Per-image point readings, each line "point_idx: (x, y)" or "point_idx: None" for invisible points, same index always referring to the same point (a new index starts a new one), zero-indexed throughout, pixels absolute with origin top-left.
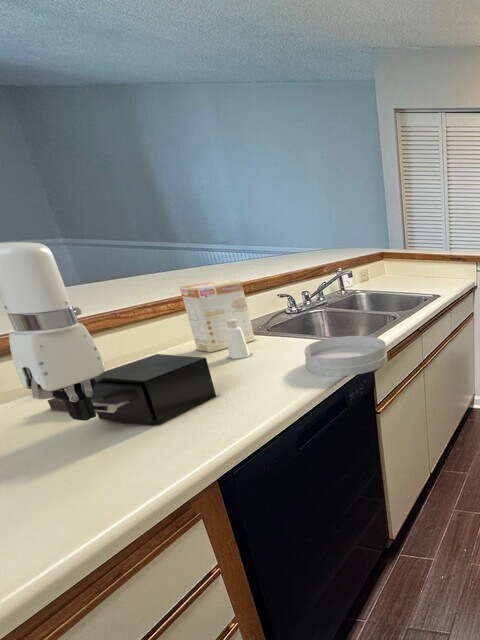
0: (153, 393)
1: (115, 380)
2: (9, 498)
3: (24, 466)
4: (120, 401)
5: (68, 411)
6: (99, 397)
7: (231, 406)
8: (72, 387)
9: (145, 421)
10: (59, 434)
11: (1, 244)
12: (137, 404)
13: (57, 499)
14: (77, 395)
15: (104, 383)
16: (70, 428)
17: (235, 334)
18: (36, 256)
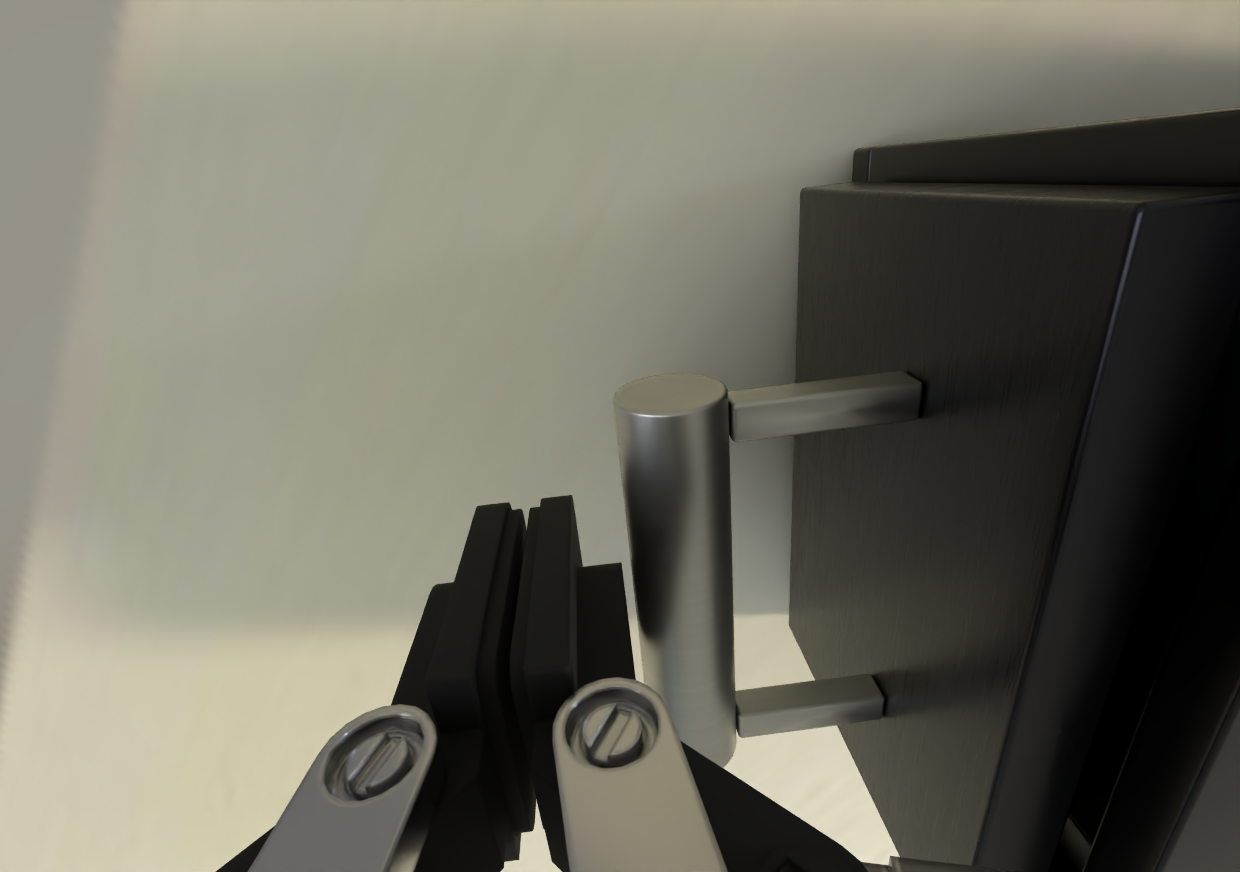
0: None
1: (1180, 710)
2: (4, 704)
3: (142, 422)
4: (877, 600)
5: (422, 624)
6: (906, 389)
7: None
8: (571, 861)
9: (795, 624)
10: (520, 55)
11: None
12: (854, 733)
13: (147, 851)
14: (542, 805)
15: (1122, 550)
16: (638, 6)
17: None
18: None
